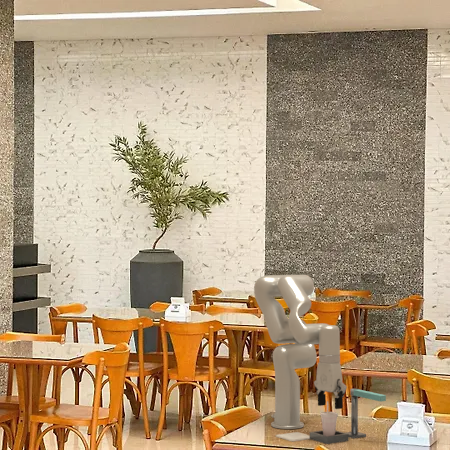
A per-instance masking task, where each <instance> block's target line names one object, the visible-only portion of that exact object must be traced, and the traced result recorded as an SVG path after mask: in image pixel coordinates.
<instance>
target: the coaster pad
mask: <svg viewBox="0 0 450 450" xmlns="http://www.w3.org/2000/svg"><path fill="white" fill-rule="evenodd" d="M275 437H276V438H279V439H282V440H285V441H288V442H299V441H300V442H301V441H305V440H311V439H310V434H306V433H303V432H298V431H296V432H295V431H294V432H290V433H289V432H287V433H280V434H275Z"/></svg>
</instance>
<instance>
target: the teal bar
mask: <svg viewBox="0 0 450 450" xmlns="http://www.w3.org/2000/svg"><path fill="white" fill-rule="evenodd" d="M351 395H354V396H358V398H359V397H360V398H362V399H363V398H364V399H368V400H371V401H376V402H387V401H386V400H387V395H386V394H382V393H381V394H380V393H376V392H372V391H368V390H367V391H366V390H362V389H359V388H350V396H351Z"/></svg>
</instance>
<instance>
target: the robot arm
mask: <svg viewBox="0 0 450 450" xmlns="http://www.w3.org/2000/svg"><path fill="white" fill-rule="evenodd" d="M253 288H254V289H253V292H254V298H255V300H256V302H257V303H256V304H257V305H258V307H259V308H260V311H261V312H262V316H263V318H264V322H265V325H266V329H267V332H268V335H269V337H270V338H269V339H271V341H272V343H274V344H279V346H278V345H277V346H276V347H275V348H274V350H273V352H272V361H273V368H274V378H275V381H274V382H275V383H274V384H275V385H274V387H275V388H274V389H275V393H274V394H275V395H274V397H275V398H274V400H275V402H274V404H275V405H274V409H275V410H274V413H272V414H271V418H272V419H273V420H274V421H272V422H271V424H270V425H271V427H272V428H275V429H280V430H296V429H302V428H303V427H305V424H304V422H303V421H301V416H300V415H301V414H300V413H301V382H300V377H299V375H298V374H297V371H296V369H308V368H311V367H313V366H314V365H315V364H316V363H317V368H316V378H315V379H316V380H315V381H313V384H314V387H315V390H316V395H317V406H319V407H321V406H327V400H326V399H327V398H326V397H327V396H326V393H333V395H334V396H335V397H334V409H335V410H340V409H343V408H344V405H343V404H344V403H343V401H344V400H343V399H344V396H345V394H346V390H347V385H346V384H345V383H344V382H343V374H342V373H343V372H342V366H341V353H340V352H341V350H340V349H341V346H340V345H341V343H340V341H341V340H340V339H341V337H340V328H339V326H337V325H336V324H335V325H331V324H328V323H306V321H304V320H303V319H301V318H300V317H303V316H304V315H305V314H306V313H307V312H309V310H310V309H311V307H312V300H311V299H310V298H309V297H310V296H311V295H312V294H313V292H314V290H315V284H314V281H313V279H312V277H311V276H309V275H307V274H272V275H271V274H270V275H263V276H260V277H259V278H258V279H256V281H255V284H254V287H253ZM274 297H282V298H283V301H284V302H285V303H286V305H287V307H288V309H289V311H290V312H289V315H288V317H287V314H286V313H285V309H284V307H283V306H282V304H281V303H280V302H279V301H278V299H276V298H274ZM315 345H318V356H317V351H316V347H315ZM317 358H318V362H317Z"/></svg>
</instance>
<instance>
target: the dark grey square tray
mask: <svg viewBox="0 0 450 450" xmlns="http://www.w3.org/2000/svg"><path fill="white" fill-rule="evenodd" d="M309 436H310V439H309V440H311V441H314V442H317V443H318V442H319V443H322V444H325V445H329V444H336V443H343V442H349V434H347V432H344V431H343V432H342V431H340V430H337V429H335V435H333V436H325V435H323V429H322V430H316V431H310V432H309Z"/></svg>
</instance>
